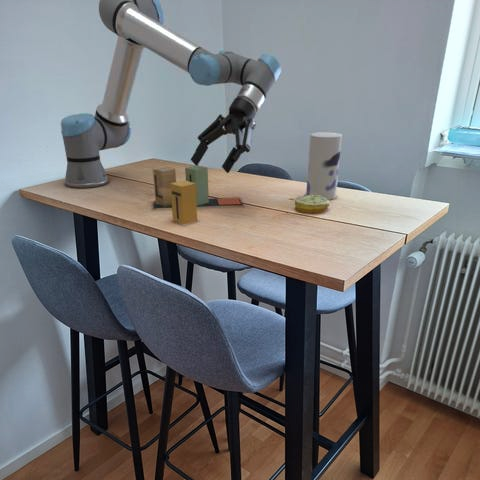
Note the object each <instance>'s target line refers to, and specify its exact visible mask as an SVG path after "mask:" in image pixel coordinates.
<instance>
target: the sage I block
mask: <svg viewBox="0 0 480 480" xmlns="http://www.w3.org/2000/svg"><path fill="white" fill-rule="evenodd" d="M184 170H185V171H184V173H185V181H188V182H192V183H195V184H196V204H197V206H198V205H202V204H206V203H209V199H210V197H209V168H208V167H206V166H202V165H199V164H198V165H197V166H196V165H192V166H187V167H185V168H184Z"/></svg>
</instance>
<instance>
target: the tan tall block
mask: <svg viewBox="0 0 480 480" xmlns="http://www.w3.org/2000/svg"><path fill="white" fill-rule="evenodd" d="M152 176H153V189H154V198H155V199H154V201H155V200H156V204H158V205H161V206H164V207H167V206H171V205H172V198H171V184H170V183H175V182H177V173H176V168H175V167H174V168H173V167H171V166H167V165H166V166H165V165H164V166H159V167H154V168H152Z"/></svg>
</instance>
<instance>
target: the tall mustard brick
mask: <svg viewBox="0 0 480 480" xmlns="http://www.w3.org/2000/svg"><path fill="white" fill-rule="evenodd" d="M170 184H171V198H172V208H171V210H172V220H173V222H177V223H179V224H181V225H185V224H186V225H187V224H189V223H192V222H196V221H198V207H197V204H196V184H195V183H192V182H188V181H186V179H185V180H180V181H176V182H175V183H170Z"/></svg>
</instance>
